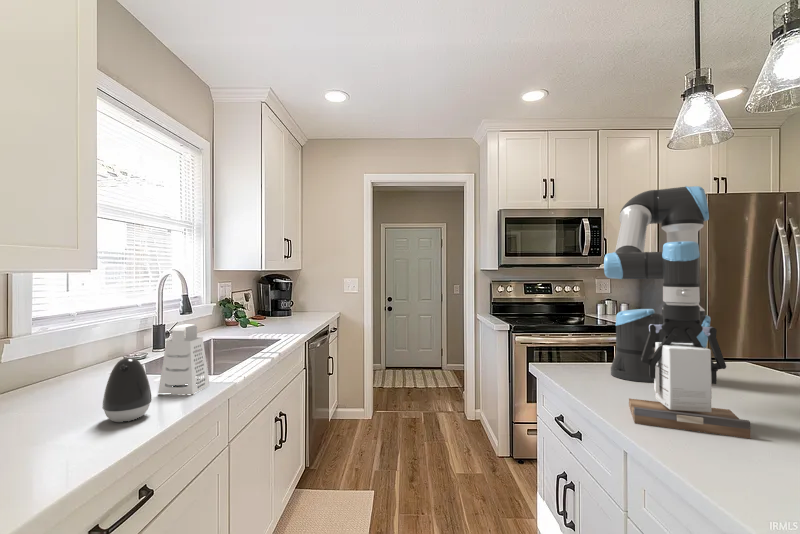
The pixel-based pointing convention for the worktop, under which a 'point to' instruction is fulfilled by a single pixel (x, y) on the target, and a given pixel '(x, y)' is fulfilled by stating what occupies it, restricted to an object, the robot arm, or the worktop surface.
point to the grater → (184, 362)
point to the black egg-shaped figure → (127, 391)
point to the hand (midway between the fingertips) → (681, 394)
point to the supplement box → (684, 377)
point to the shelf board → (689, 419)
